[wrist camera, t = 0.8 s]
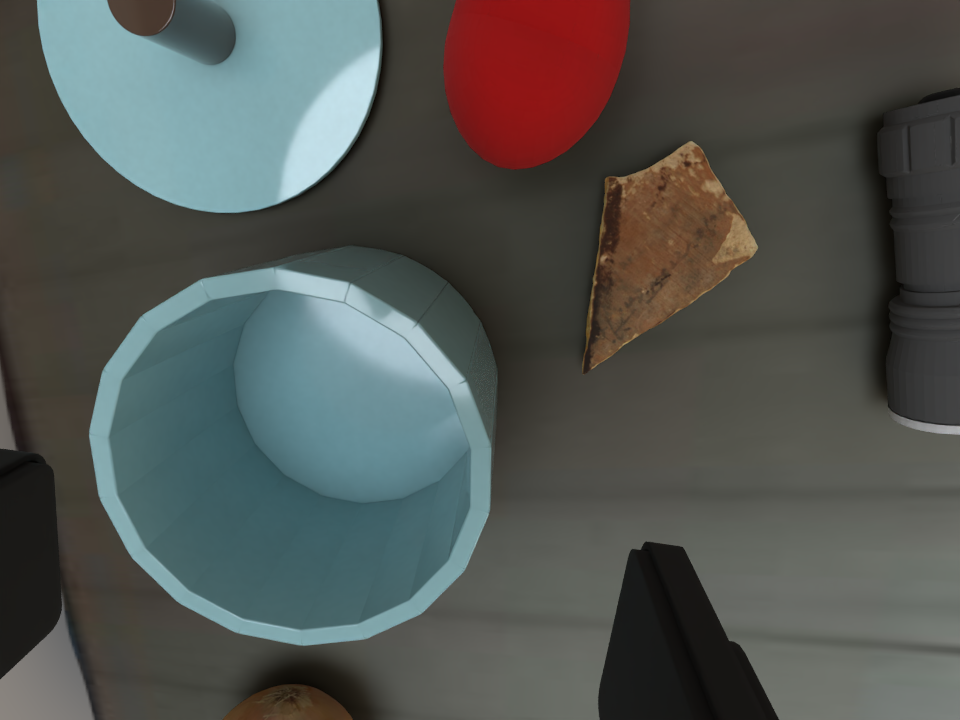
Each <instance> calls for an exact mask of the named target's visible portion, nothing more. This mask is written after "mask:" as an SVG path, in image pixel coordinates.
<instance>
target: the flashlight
mask: <svg viewBox="0 0 960 720" xmlns="http://www.w3.org/2000/svg"><path fill="white" fill-rule="evenodd" d="M883 121H884V127H883V128H881V130H880V131H879V132H878V133H877V146H878V165H879V173H880V174H881V175H883V176H884V177H886V181H887V198H889V199H892V204H893V206H892V208H891V209H890V211H889V213H890V214H891V215H892V216H893V218H892V219H891V221H890V227H891V228H892V229H893V230H894V245H895V265H896V280H897V281H898V282H900V283H903V285H901V286H900V295H898V296H896V297H894V298H893V299H892V300H891V301H890V302H889V305H888V307H889V309H890V311H891V312H890V314H889V318H890V320H891V322H890V325H889V327H890V329H891V331H892V332H893V333H892V337H891V341H890V345H889V349H888V353H887V357H886V375H887V392H888V412H889V416H890V417H891V418H892V419H893V420H895V421H896V422H898V423H900V424H902V425H905V426H907V427H910V428H913V429H917V430H922V431H927V432H933V433H943V434H960V88H955V89H950V90H946V91H942V92H938V93H934V94H930V95H928V96H926V97H924V98H923V99H921V100H920V102H919V103H918V104H917V105H914V106H910V107H906V108H902V109H897V110H893V111H889V112H886V113H883Z"/></svg>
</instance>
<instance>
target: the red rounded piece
mask: <svg viewBox="0 0 960 720" xmlns="http://www.w3.org/2000/svg"><path fill="white" fill-rule="evenodd" d="M629 24H630V0H456V3H455V7H454V10H453V14H452V17H451V21H450V25H449V29H448V33H447V37H446V41H445V51H444V65H443V70H444V82H445V92H446V96H447V100H448V104H449V108H450V112H451V115H452V117H453V119H454V121H455V124H456V126H457V128H458V130H459V132H460V134H461V135H462V137H463V138H464V139H465V141H466V142H467V144H468V145H469V147H470V148H471V149H472V150H474V151H475V152H476V153H477V154H478V155H479V156H480V157H481V158H482V159H484V160H486V161H488V162H489V163H491V164H493V165H495V166H497V167H502V168H508V169H514V170H515V169H524V168H532V167H535V166H538V165H540V164H543V163H546V162H549V161H551V160H552V159H554V158H556V157H557V156H559V155H561V154H562V153H564V152H566V151H567V150H568V149H569V148H571V147H572V146H573V145H574V144H575V143H576V142H577V141H579V140H580V139H581V138H582V137H583V136H584V135H585V133H586V132H587V131H588V130H589V129H590V127H591V126H592V125H593V124H594V123H595V121H596V120H597V119H598V117H599V115H600V114H601V112H602V110H603V109H604V107H605V105H606V104H607V102H608V100H609V98H610V96H611V93H612V91H613V88H614V86H615V83H616V81H617V78H618V75H619V72H620V68H621V65H622V62H623V58H624V55H625V51H626V44H627V38H628V31H629Z"/></svg>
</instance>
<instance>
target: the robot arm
mask: <svg viewBox="0 0 960 720" xmlns="http://www.w3.org/2000/svg"><path fill="white" fill-rule="evenodd" d="M61 610H62V601H61V584H60V567H59V550H58V534H57V517H56V500H55V484H54V473H53V470H52V468H51V467H50V466H49V465H47V464H46V461H45V460H44V458H43V457H42V456H40V455H39V454H35V453H28V452H21V451H14V450H7V449H0V679H1V678H2V677H3V676H4V675H5V674H6V673H7V672H9V671H10V670H11V669H12V668H13V667H14V666H15V665H16V664H17V663H18V662H19V661H20V660H21V659H22V658H23V657H24V656H25V655H27V654H28V653H29V652H30V651H31V650H32V649H33V648H34V647H35V646H36V645H37V644H38V643H39V642H40V641H41V640H43V639H44V638H45V637H46V636H47V635H48V634H49V633H50V632H51V631H52V630H53V628H54V627H55V625H56V624H57V622H58V620H59V617H60V614H61ZM598 709H599V717H600V720H779V719H778V717H777V715H776V713H775V711H774V709H773V707H772V705H771V703H770V701H769V699H768V697H767V695H766V693H765V691H764V689H763V687H762V685H761V684H760V682H759V680H758V678H757V676H756V674H755V672H754V670H753V668H752V666H751V664H750V662H749V660H748V658H747V656H746V654H745V652H744V651H743V650H742V648H741V647H740V645H738V644H737V643H735V642H732V641H729V640H728V638H727V636H726V634H725V632H724V630H723V627H722V625H721V623H720V621H719V619H718V617H717V615H716V613H715V611H714V609H713V607H712V605H711V603H710V601H709V599H708V597H707V595H706V593H705V591H704V589H703V586H702V584H701V582H700V580H699V578H698V576H697V574H696V572H695V570H694V568H693V566H692V564H691V562H690V560H689V558H688V556H687V554H686V552H685V550H684V549H683V547H680V546H673V545H666V544H660V543H653V542H645V543H644V544H643V546H642V549H641V550H636V549H632V550H631V551H630V553H629V557H628V561H627V565H626V570H625V574H624V579H623V583H622V588H621V592H620V597H619V601H618V606H617V610H616V615H615V619H614V624H613V628H612V633H611V638H610V642H609V647H608V651H607V656H606V660H605V665H604V669H603V674H602V678H601V683H600V688H599V696H598Z"/></svg>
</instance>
